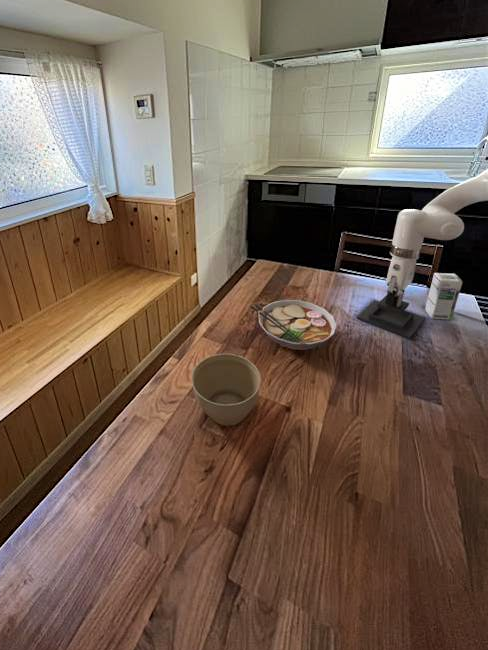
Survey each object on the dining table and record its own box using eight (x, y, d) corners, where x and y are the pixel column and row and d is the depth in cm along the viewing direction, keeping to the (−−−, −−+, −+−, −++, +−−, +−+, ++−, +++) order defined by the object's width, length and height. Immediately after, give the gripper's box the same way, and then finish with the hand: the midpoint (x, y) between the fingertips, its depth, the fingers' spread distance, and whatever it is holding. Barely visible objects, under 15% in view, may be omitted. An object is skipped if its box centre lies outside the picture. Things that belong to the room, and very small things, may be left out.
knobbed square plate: (408, 306, 109) (412, 291, 107) (400, 315, 105) (404, 299, 102) (385, 298, 114) (388, 283, 111) (376, 306, 110) (379, 291, 107)
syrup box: (431, 319, 110) (442, 280, 104) (424, 309, 115) (434, 271, 109) (451, 320, 109) (463, 281, 103) (443, 310, 114) (454, 272, 108)
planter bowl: (210, 377, 93) (208, 346, 89) (267, 397, 86) (269, 364, 81) (182, 423, 81) (178, 389, 76) (246, 450, 73) (247, 415, 69)
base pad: (425, 320, 110) (426, 314, 109) (409, 340, 102) (411, 334, 101) (373, 302, 121) (374, 297, 120) (356, 318, 113) (357, 313, 112)
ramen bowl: (353, 349, 100) (357, 327, 96) (293, 378, 91) (295, 354, 88) (295, 309, 120) (296, 289, 117) (241, 329, 112) (241, 308, 109)
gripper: (409, 263, 94) (396, 317, 101) (428, 245, 103) (415, 296, 111) (380, 256, 99) (370, 308, 106) (401, 239, 109) (391, 288, 116)
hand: (393, 301), depth 109 cm, fingers closed on knobbed square plate, 4 cm apart
